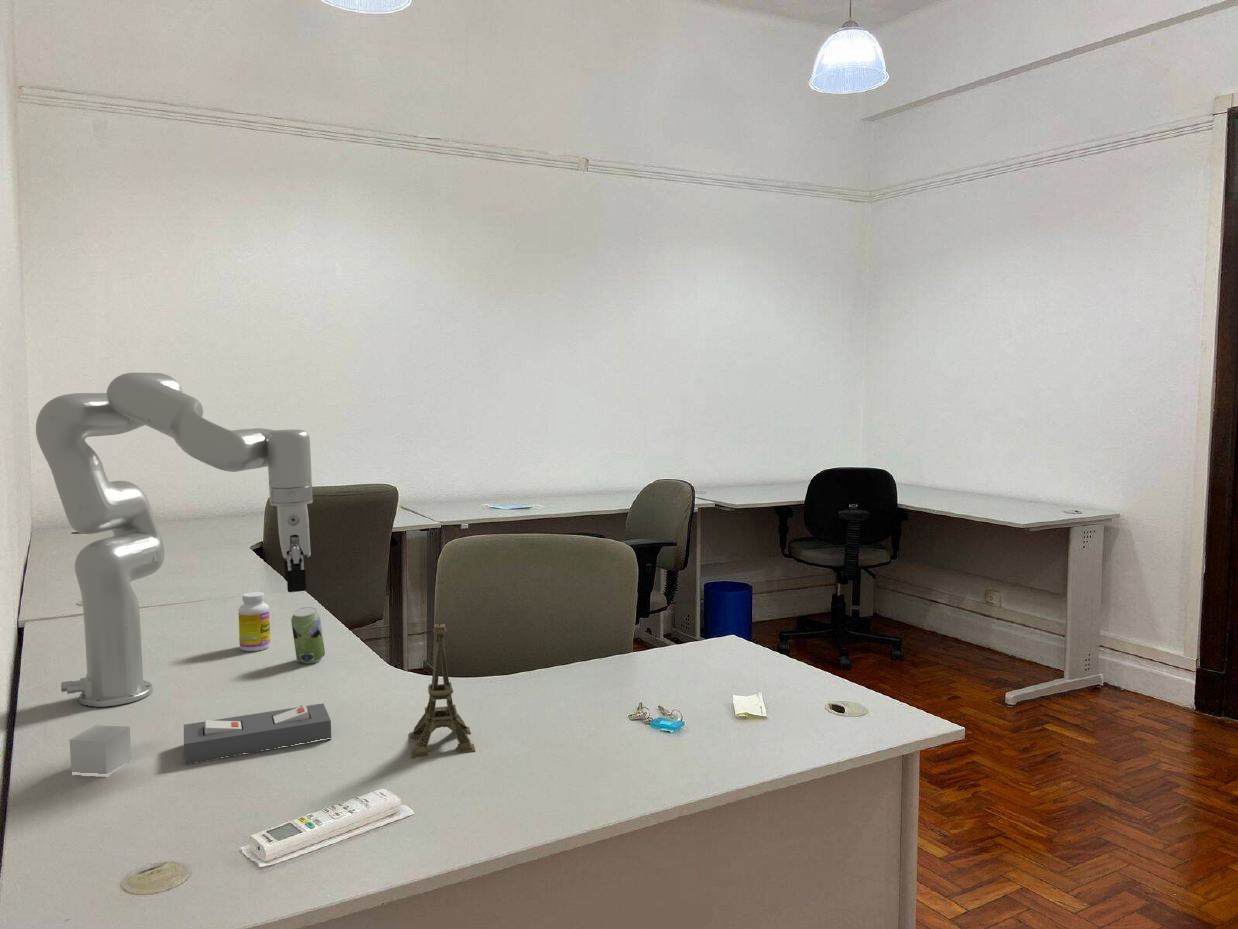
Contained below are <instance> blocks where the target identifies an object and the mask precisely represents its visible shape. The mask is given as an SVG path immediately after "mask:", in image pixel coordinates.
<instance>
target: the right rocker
mask: <svg viewBox="0 0 1238 929" xmlns="http://www.w3.org/2000/svg"><path fill="white" fill-rule="evenodd" d="M300 706H301V707H300ZM300 706H298V708H296V707H295V708H296V709H293V710H290V711H287V712H284V713H281V714H278V715H276V716H273V718H274V722H275V724H279V723H286V722H292V721H298V720H304V719H309V718H310V717H309V713H308V710H307V707H306V706H307V705H306V704H305V705H300Z"/></svg>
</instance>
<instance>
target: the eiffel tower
mask: <svg viewBox="0 0 1238 929" xmlns="http://www.w3.org/2000/svg"><path fill="white" fill-rule="evenodd" d="M440 608H441V606H440V602H438V623H437V624H434V625H433V629H432V633H433V634H435V643H434V658H433V668H432V675H431V676H432V677H431V683H428V689H427V692H428V695H429V696H428V697H429V698H428V703H427V706H426V707H424V714H423V715H422V716H421V717H420V719H419V720H418V722H417V723H416V724H415V726H414V728H413V731H411V732H409V733H408V736H410V737H409V740H410V739H415V740H417V741H416V743H415V745H414V747H413V749H411V750H410V754H411V755H410V757H411V759H417V758H416V757H422V758H428V757H429V749H428V745H429V742H430V738H431V735H432V733H433V732H434V731H436V729H439V728H448V729H450V730H451V731H452V732H453V733H454V736H455V738H456V740H457V742H458V743H457V749H458V750H457V751H458V754H466V753H475V752H476V748H475V743H472V742H471V739H470V737H469V736H468V735H470V734H471V729H470V726H467V725H466V723H465V721H464V720H463V718H462V717H461V716H460V714H459V713H458V711H457V706H456V704H454V703H453V695H452V694H453V693H454V690H453V686H452V682H451V681H450V679H449V673H448V671H449V670H448V665H447V657H446V647H445V639H444V634H445V633H447V629H446V625H445V623H442V622H441V611H440ZM440 664H441V665H440ZM440 666H441V672H442V673H441V674H442V679H443V680H442V681H443V682H442V683H440V684H439V675H440ZM437 700H446V705H445V706H437V704H436V703H437ZM427 756H428V757H427Z"/></svg>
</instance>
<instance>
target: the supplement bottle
mask: <svg viewBox="0 0 1238 929" xmlns="http://www.w3.org/2000/svg"><path fill="white" fill-rule="evenodd" d="M264 600H265V593H264V592H261V591H251V592H246V593H243V594H242V602H243V604H241V605H240V607H238V637H239V640H238V641H239V649H240V650H242V651H243V652H259V650H260V651H264V650H266V649H268V648H269V647H270V646H271V629H270V627H271V623H270V622H271V621H270V606H269V605H268V604H267V603H265V602H264Z"/></svg>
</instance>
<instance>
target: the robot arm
mask: <svg viewBox="0 0 1238 929" xmlns="http://www.w3.org/2000/svg"><path fill="white" fill-rule="evenodd" d="M203 414H204V408H203V405H202V403H201V401H200V400H199V399H197V398H196V397H193V396H191V395H189V394H187V393H185V392H183V389H182V386H181V385H180V383H179V382H178V381H177V380H176V379H175V378H173V377H172V376H170V375H168V374H166V373H162V372H127V373H122V374H120V375H118V376H116V377H114V378H113V380H111V381H110V382H109V384H108V386H107V389H106V392H77V393H76V392H75V393H68V394H67V393H66V394H63V395H59V396H56V397H54V398H53V399H50V400H49V401H48V402H46V403H45V404H44V405H43V407H42V408H41V410H40V411H39V413H38V415H37V418H36V422H35V435H36V439H37V443H38V445H39V448H40V449H41V452H42V454H43V456H44V459H45V460H46V462H47V463H48V464H47V465H48V467H49V468H50V471H51V474H52V476H53V480H54V484H55V487H56V490H57V492H58V495H59V499H60V501H61V504H62V506H63V511H64V513H65V516H66V518H67V522H68V523H69V525H70V527H71V528H72V529H73V530H74V531H76V532H77V533H80V534H83V535H92V534H98V533H103V532H107V531H112V533H113V536H108V537H105V538H101V539H97V540H96V541H93V542H91V543H89V544H86V545H85V546H84V547H82V549H81V550H80V551H79V552H78V554H77V555H76V558H75V561H74V571H75V575H76V580H77V583H78V585H79V586H78V587H79V589H80V594H81V601H82V602H81V603H82V611H83V623H84V637H85V638H84V639H85V656H86V658H85V659H86V675H85V677H80V679H79V680H68V681H61V683H60V689H61V693H65V692H66V694H75V693H80V694H79V696H78V700H79V703H80V704H82V705H83V706H86V705H88V706H87V707H92V706H93V707H94V708H96V707H97V708H102V707H103V708H106V707H114V706H119V705H126V704H130V703H132V702H136V701H139V700H142V699H144V698H146V697H148V696H149V695H150V694H151V693H152V692H153V684H152V683H151V682H149V681H147V680H144V670H143V668H144V667H143V651H142V646H143V645H142V630H141V626H142V625H141V614H140V612H141V611H140V603H139V599H138V597H137V595H136V593H135V591H134V590H133V588H132V585H131V583H132V582H133V581H136V580H139V579H143V578H145V577H148V576H151V575H152V574H154V573H156V572H157V571H158V570H159V569H160V568H161V567H162V565H163V563H164V561H165V547H164V546H165V545H164V542H163V539H162V536H161V533H160V530H159V527H158V524H157V522H156V518H155V515H154V513H153V512H154V511H153V508H152V507H151V504H150V501H149V499H148V497H147V495H146V494H145V492H144V491H143V490H142V489H141V487H139V486H138V485H137V484H135V483H134V482H130V481H126V480H114V481H109V479H108V476H107V475H106V472H105V469H104V466H103V462H102V461H101V460H102V459H101V458H100V457H99V454H97V453H96V450H94V449H93V448H92V447H91V446H90V444H88V443H87V442H86V439H87V438H91V437H103V436H117V435H121V434H124V433H128V432H131V431H134V430H137V429H139V428H141V427H144V426H147V427H149V428H151V429H152V430H156V431H158V432H160V433H161V434H163V435H166V436H168V437H170V438H171V439H173V440H174V441H175V443H176V444H177V447H180V449H181V450H182V451H183V452H184V453H186V455H188V456H189V457H192V458H193V459H196V460H198V461H199V462H202V463H204V464H206V465H208V466H210V467H213V468H215V469H217V470H220V471H224V472H229V473H231V472H232V473H236V472H243V471H247V470H248V471H249V470H256V469H259V468H267V470H268V471H267V473H268V474H267V475H268V490H269V506H273V507H277V508H276V511H277V524H278V525H277V527H278V536H279V537H278V538H279V543H280V549H281V554H282V558H284V559H285V560H284V579H285V581H286V586H287V590H286V591H287V592H288V593H297V592H305V591H306V590H307V578H306V568H305V564H304V561H305V560H304V556H306V557H307V558H309V557H311V554H312V552H311V539H310V538H311V537H310V519H309V511H308V505H309V504H312V503H314V502H313V501H314V500H313V497H314V496H313V485H312V483H313V482H312V480H313V479H312V478H313V477H312V460H311V455H312V454H311V440H310V434H309V433H308V432H307V431H306V430H303V429H277V430H275V429H269V428H268V429H267V428H261V427H260V428H257V427H256V428H244V429H243V428H242V429H233V430H231V429H228V428H225V427H223V426H221V425H218V424H216V423H214V422H212V421H210V420H207V419H205V418H204V417H203ZM93 707H92V708H93Z"/></svg>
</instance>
